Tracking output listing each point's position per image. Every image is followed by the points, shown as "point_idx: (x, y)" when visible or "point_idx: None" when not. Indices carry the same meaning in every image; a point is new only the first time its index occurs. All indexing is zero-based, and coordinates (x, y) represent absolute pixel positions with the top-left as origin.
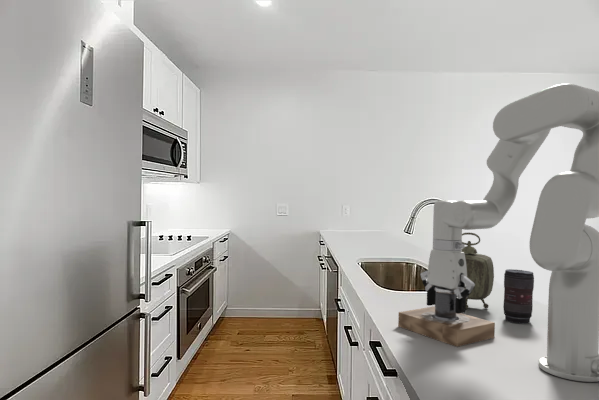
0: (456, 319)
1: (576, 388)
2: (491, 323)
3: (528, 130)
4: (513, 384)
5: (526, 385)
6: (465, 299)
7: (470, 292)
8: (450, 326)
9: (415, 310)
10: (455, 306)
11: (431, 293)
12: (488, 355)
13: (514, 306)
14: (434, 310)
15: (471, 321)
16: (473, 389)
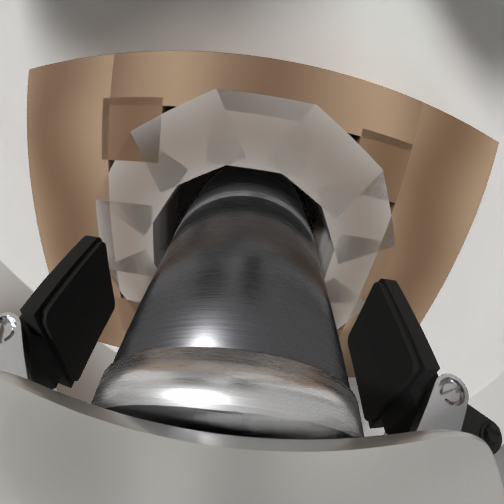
0: (308, 224)
1: None
2: (489, 170)
3: None
4: (473, 383)
5: (488, 373)
6: (436, 376)
7: (487, 432)
8: (346, 362)
9: (56, 258)
10: (355, 373)
11: (74, 355)
12: (452, 322)
13: None
14: (87, 162)
15: (407, 220)
16: None
